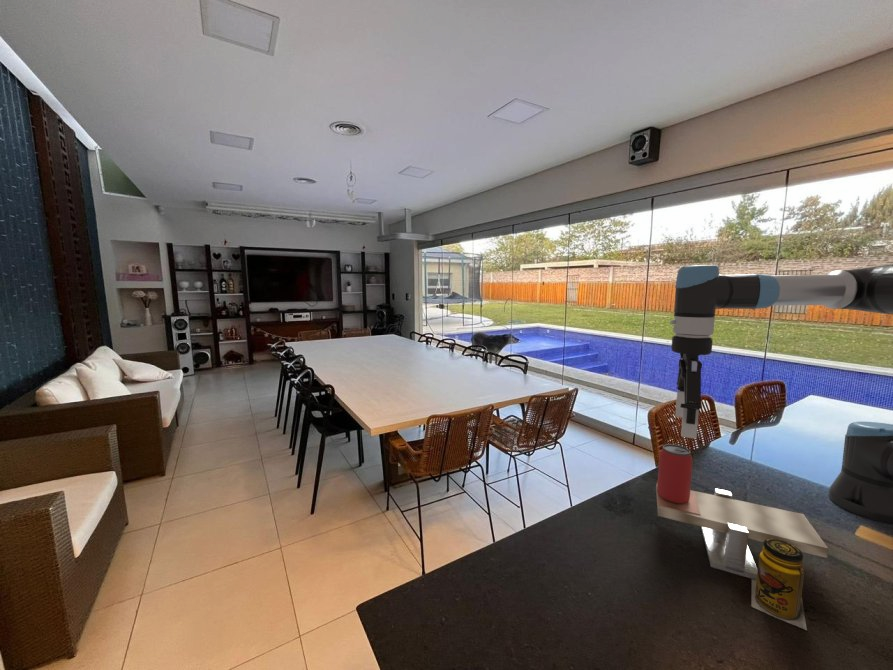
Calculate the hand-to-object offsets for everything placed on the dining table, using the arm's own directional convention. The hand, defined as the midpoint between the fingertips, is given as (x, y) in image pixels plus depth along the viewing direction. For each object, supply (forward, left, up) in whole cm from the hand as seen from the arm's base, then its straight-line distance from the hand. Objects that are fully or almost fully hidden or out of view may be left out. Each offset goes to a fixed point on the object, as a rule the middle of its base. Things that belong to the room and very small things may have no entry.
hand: (684, 426), depth 84 cm
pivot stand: (-10, +1, -27) cm, 28 cm away
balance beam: (-10, +1, -19) cm, 21 cm away
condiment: (-15, +14, -27) cm, 34 cm away
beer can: (+1, +1, -18) cm, 18 cm away
